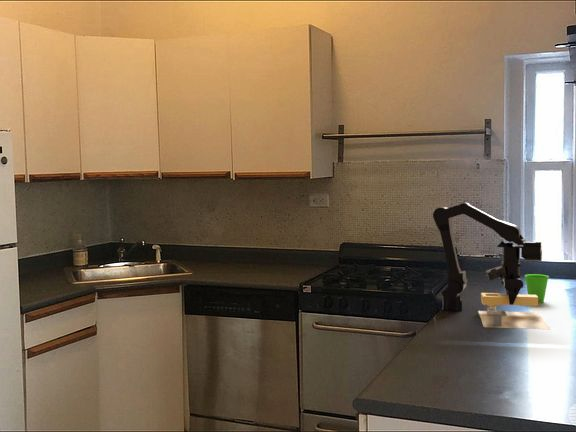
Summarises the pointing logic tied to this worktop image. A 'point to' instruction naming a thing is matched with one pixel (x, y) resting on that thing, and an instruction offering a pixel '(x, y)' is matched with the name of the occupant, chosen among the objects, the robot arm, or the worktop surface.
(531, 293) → the cup
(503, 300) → the link
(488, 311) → the keeper
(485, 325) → the board
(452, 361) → the worktop surface
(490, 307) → the pintle
